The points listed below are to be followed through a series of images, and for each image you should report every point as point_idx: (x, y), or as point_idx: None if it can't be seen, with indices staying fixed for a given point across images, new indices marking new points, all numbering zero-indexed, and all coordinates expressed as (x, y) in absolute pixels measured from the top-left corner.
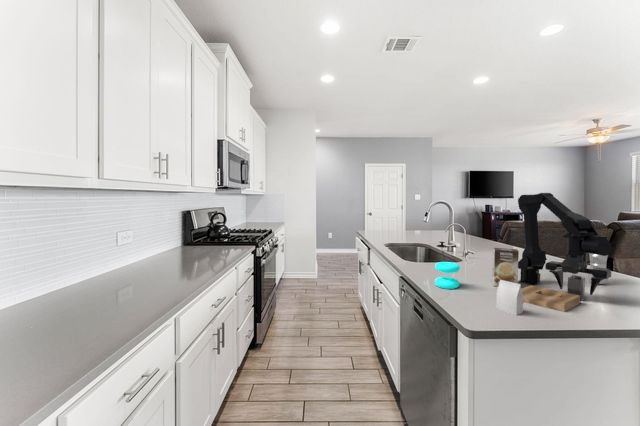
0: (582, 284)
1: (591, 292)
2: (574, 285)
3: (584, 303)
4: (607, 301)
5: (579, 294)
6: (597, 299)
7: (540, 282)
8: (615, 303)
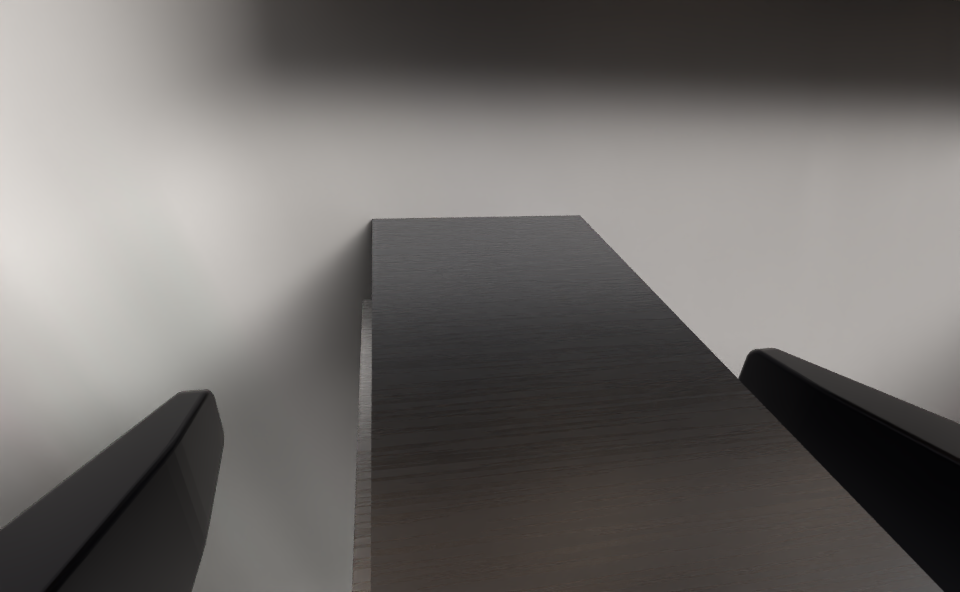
0: (370, 585)
1: (145, 429)
2: (568, 413)
3: (242, 91)
4: None
5: (393, 276)
6: (259, 503)
7: None
8: (6, 519)
